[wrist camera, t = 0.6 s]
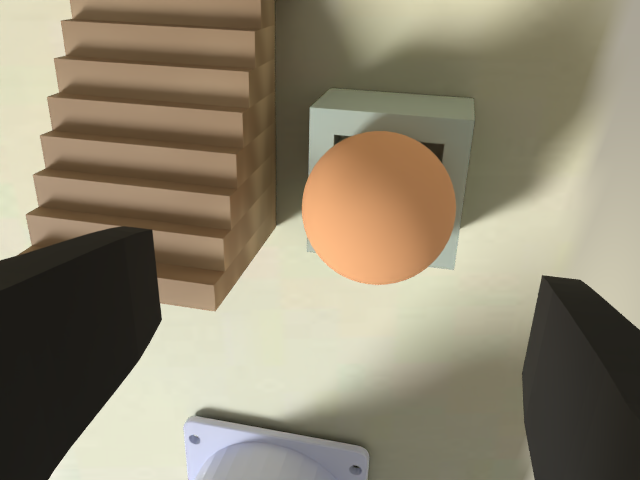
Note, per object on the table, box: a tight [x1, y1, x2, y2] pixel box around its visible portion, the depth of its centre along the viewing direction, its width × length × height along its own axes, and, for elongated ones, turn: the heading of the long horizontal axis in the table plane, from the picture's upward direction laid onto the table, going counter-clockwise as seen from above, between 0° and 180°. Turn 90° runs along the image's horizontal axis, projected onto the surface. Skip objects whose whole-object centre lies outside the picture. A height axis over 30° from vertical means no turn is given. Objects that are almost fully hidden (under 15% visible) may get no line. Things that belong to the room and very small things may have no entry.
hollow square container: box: [307, 88, 475, 270], centre depth 18 cm, size 4×4×3 cm
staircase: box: [17, 0, 276, 311], centre depth 18 cm, size 8×6×6 cm
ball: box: [302, 131, 456, 285], centre depth 16 cm, size 4×4×4 cm
